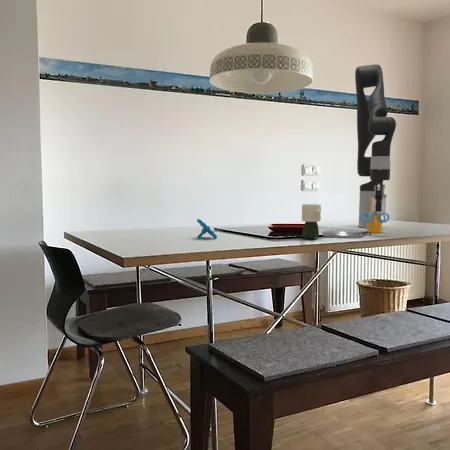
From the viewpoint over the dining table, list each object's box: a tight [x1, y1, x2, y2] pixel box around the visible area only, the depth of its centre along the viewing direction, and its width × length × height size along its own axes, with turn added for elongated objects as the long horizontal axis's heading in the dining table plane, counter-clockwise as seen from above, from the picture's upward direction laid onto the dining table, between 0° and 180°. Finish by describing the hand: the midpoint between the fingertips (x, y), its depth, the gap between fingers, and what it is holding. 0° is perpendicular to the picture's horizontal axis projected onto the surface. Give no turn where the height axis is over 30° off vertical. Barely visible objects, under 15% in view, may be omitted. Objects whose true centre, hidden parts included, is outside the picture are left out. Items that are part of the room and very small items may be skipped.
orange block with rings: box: [360, 197, 390, 234], centre depth 212 cm, size 12×10×15 cm
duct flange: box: [321, 230, 364, 239], centre depth 198 cm, size 16×16×2 cm
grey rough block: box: [372, 193, 387, 216], centre depth 198 cm, size 6×6×8 cm
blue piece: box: [196, 218, 218, 239], centre depth 186 cm, size 11×6×10 cm
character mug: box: [301, 203, 322, 240], centre depth 187 cm, size 11×7×13 cm, turn 25°
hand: (378, 210), depth 198 cm, fingers closed on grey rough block, 5 cm apart
